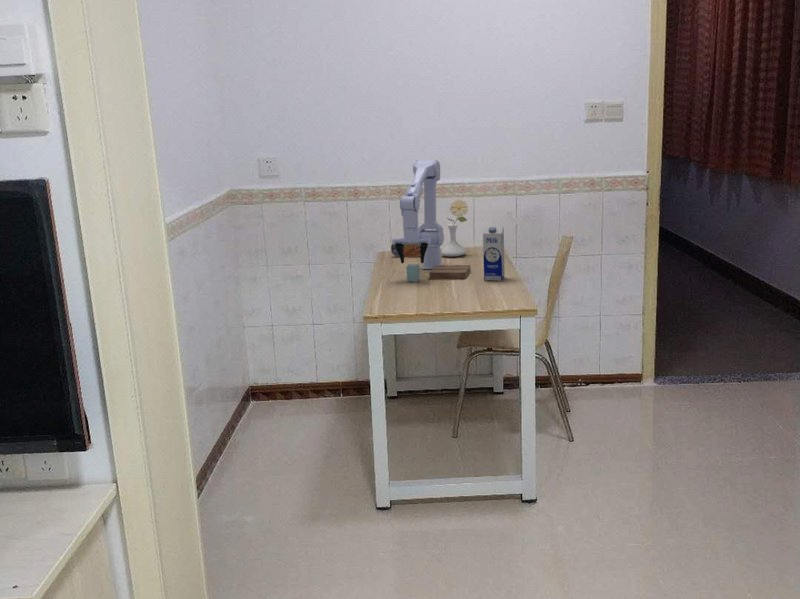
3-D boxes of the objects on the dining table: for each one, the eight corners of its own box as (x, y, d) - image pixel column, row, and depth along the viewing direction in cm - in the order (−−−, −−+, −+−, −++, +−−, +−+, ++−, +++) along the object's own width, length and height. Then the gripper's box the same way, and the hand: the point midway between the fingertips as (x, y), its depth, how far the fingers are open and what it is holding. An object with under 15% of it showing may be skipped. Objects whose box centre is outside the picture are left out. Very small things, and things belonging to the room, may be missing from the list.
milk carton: (505, 277, 303) (504, 225, 298) (502, 281, 296) (501, 228, 292) (486, 277, 305) (485, 225, 300) (483, 280, 298) (482, 228, 294)
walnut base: (435, 271, 319) (435, 265, 319) (470, 271, 316) (470, 265, 316) (429, 279, 306) (429, 272, 305) (465, 279, 303) (465, 272, 302)
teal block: (409, 279, 308) (408, 264, 306) (419, 279, 307) (418, 264, 306) (407, 281, 304) (406, 266, 303) (417, 281, 303) (416, 266, 302)
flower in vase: (437, 258, 347) (435, 201, 341) (444, 253, 357) (442, 197, 351) (467, 258, 343) (465, 200, 337) (472, 253, 353) (470, 197, 347)
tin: (391, 257, 354) (390, 239, 352) (392, 256, 357) (391, 238, 355) (424, 257, 350) (423, 238, 348) (425, 256, 353) (424, 237, 351)
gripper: (389, 229, 298) (391, 264, 302) (427, 228, 295) (429, 264, 298) (394, 226, 305) (395, 261, 308) (431, 226, 302) (432, 261, 305)
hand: (412, 262), depth 304 cm, fingers open, 7 cm apart
